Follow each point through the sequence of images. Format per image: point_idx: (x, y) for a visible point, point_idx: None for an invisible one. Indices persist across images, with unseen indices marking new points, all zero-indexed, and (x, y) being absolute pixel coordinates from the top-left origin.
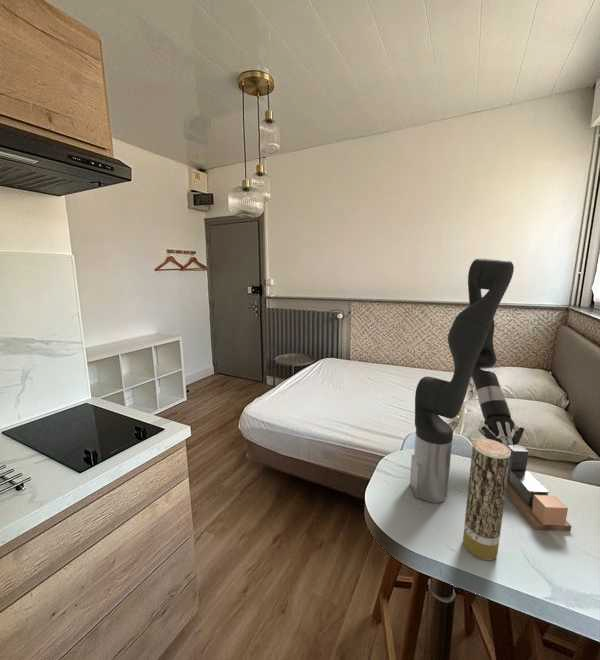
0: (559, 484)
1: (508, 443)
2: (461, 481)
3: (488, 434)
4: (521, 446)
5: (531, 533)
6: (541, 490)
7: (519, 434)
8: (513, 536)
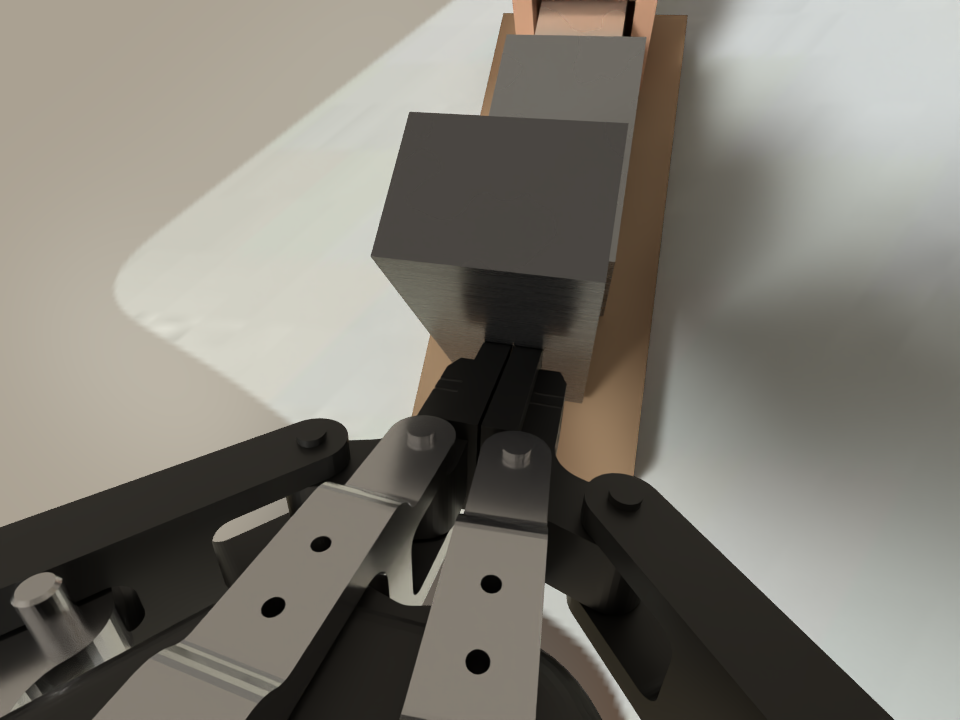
0: (218, 349)
1: (451, 450)
2: (941, 458)
3: (824, 659)
4: (398, 230)
5: (720, 27)
6: (546, 45)
7: (130, 508)
8: (837, 8)
